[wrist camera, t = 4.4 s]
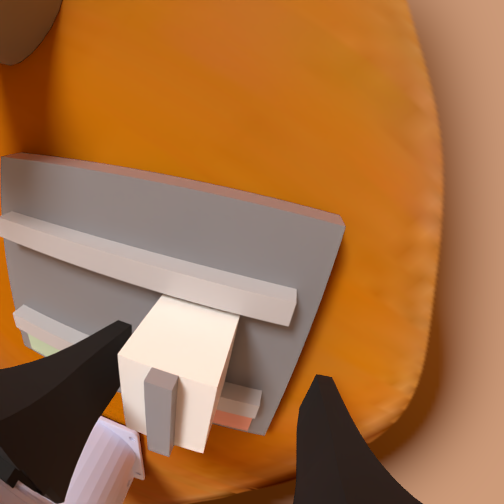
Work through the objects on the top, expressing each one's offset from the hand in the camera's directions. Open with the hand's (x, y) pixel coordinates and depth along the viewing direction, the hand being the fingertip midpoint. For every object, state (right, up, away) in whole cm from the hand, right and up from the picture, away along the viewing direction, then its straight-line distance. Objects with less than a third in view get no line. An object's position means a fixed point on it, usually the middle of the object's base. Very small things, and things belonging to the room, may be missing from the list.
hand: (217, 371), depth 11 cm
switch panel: (-4, +2, +3) cm, 6 cm away
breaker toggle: (-1, +1, +1) cm, 2 cm away
